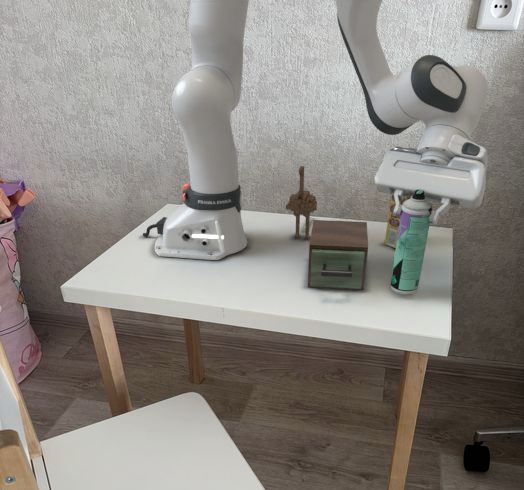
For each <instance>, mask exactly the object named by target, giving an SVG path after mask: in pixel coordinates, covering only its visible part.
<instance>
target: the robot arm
mask: <svg viewBox="0 0 524 490" xmlns="http://www.w3.org/2000/svg"><path fill="white" fill-rule="evenodd" d="M334 1H335V6H336V16H337V17H336V18H337V23H338V27H339V31H340V34H341V37H342V40H343V43H344V45H345V48H346V50H347V54H348V56H349V58H350V60H351V63H352V65H353V68H354V71H355V73H356V76H357V78H358V82H359V83H360V86H361V89H362V91H363V95H364V100H365V107H366V110H367V114H368V118H369V120H370V122H371V123H372V125H373V126H374V127H375V128H376V129H377V130H378V131H379V132H381V133H383V134H385V135H388V136H396V135H399V134H401V133H403V132H404V131H406V130H407V129H409V128H410V127H412V126H413V125H414V124H416V123H418V122H420V121H421V122H422V123H424V125H425V127H424V131H423V133H422V135H421V137H420V141H419V143H418V145H417V148H411V147H402V146H395V147H394V148H389V149H388V150H387V151H386V152H385V153H384V155H383V156H384V157H383V158H382V163H381V164H380V166H379V168H378V169H377V172H376V173H375V176H374V180H373V182H374V186H375V188H376V190H377V191H378V192H379V193H383V194H388V195H392V194H393V195H394V197H395V203H396V206H395V208H394V211H393V214H394V216H398V217H401V210H402V206H403V205H400V201H403V199H404V197H410V198H411V196H413V195H414V193H415V190H419V189H420V190H424V196H425V197H426V198H427V199H426V200H427V201H429V202H430V203H436V204H441V205H440V206H439V207H438V208H437V209H436V210H432V211H431V213H430V216H429V218H428V221H429V223H430V224H433V225H437V224H438V223H439V221H440V220H439V219H440V217H442V216H443V215H444V214H446V213H447V212H448V211H449V210H450V209H451V206H453V207H459V208H465V209H470V210H475V209H477V208H478V207H480V206H481V204H482V202H483V199H484V195H485V191H486V185H487V170H488V166H489V155H488V151H487V149H486V148H485V147H484V146H482V145H479V144H477V143H475V142H473V141H472V139H471V138H472V134H473V132H474V131H475V129H476V128H477V126H478V124H479V121H480V119H481V116H482V113H483V111H484V108H485V104H486V100H487V96H488V82H487V81H488V80H487V78H486V76H485V75H484V74H483V72H481V70H479V69H478V68H476V67H474V66H471V65H460V66H455V65H451V64H449V63H448V62H447V61H446V60H445V59H444V58H443V57H440V56H438V55H434V54H426V55H422V56H421V57H420V58H418V59H415V60H414V61H413V62H411V63H410V64H409V65H407V66H406V67H404V68H402V69H401V71H399V72H397V73H396V74H394V73H392V71H391V68H390V66H389V63H388V61H387V58H386V55H385V52H384V50H383V47H382V45H381V41H380V39H379V35H378V31H377V20H378V15H379V12H380V8H381V5H382V3H383V0H334ZM249 2H250V0H190V1H189V11H188V12H189V13H188V22H187V25H188V26H187V27H188V33H189V36H190V45H191V46H190V47H191V69H190V71H188V72H186V73H185V74H183V75H182V76H181V77H180V79H178V81H177V83H176V85H175V86H174V89H173V92H172V95H171V108H172V112H173V115H174V116H175V118H176V119H177V121H178V122H179V126H180V130H181V134H182V138H183V140H184V144H185V148H186V154H187V161H188V173H189V183H184V185H182V189H181V190H182V201H183V203H182V204H181V205H180V206H178V207H177V208H176V209H175V210H173V212H171V213H170V214H169V215H168V216H167V217H166V216H163V217H161V219H159V220H158V221H157V222H156V223H153V224H150V225H148V226H147V228H146V231H145V232H142V237H145V238H146V237H148V236H149V235H150V233H151V230H152V229H155V228H156V231H157V235H158V236H157V238H156V240H155V241H154V253H156V255H157V256H159V257H168V258H177V259H178V258H181V259H193V260H205V261H219V260H222V259H223V258H225V257H227V256H230V255H233V254H237V253H239V252H240V251H243V250H244V249H246V247H247V245H248V239H247V237H246V233H245V230H244V225H243V219H242V213H241V212H242V208H243V205H242V203H243V202H242V201H243V199H242V189H241V188H242V187H241V185H240V184H239V183H240V182H239V162H238V161H239V159H238V149H237V147H236V144H235V140H234V135H233V130H232V122H231V114H232V113H233V111H235V109H236V108H237V106H238V105H239V102H240V100H241V95H242V83H243V82H242V81H243V69H244V63H243V62H244V42H245V41H244V40H245V31H246V25H247V17H248V10H249Z"/></svg>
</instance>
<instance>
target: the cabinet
mask: <svg viewBox="0 0 524 490" xmlns="http://www.w3.org/2000/svg"><path fill="white" fill-rule="evenodd" d="M309 238H310V239H309V245H308V267H307V268H308V270H307V288H315V289H334V290H350V291H364V290H365V289H364V288H365V281H366V280H365V279H366V273H367V272H366V270H367V263H368V262H367V261H368V254H369V253H368V251H369V241H368V240H369V239H368V238H369V237H368V222H367V221H350V220H349V221H348V220H347V221H346V220H326V219H325V220H324V219H313V220H312V227H311V232H310V237H309ZM312 249H336V250H358V251H364V252H365V256H364V266H363V275H362V285H361V289H351V288H333V287H314V286H310V281H311V257H312Z"/></svg>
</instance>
